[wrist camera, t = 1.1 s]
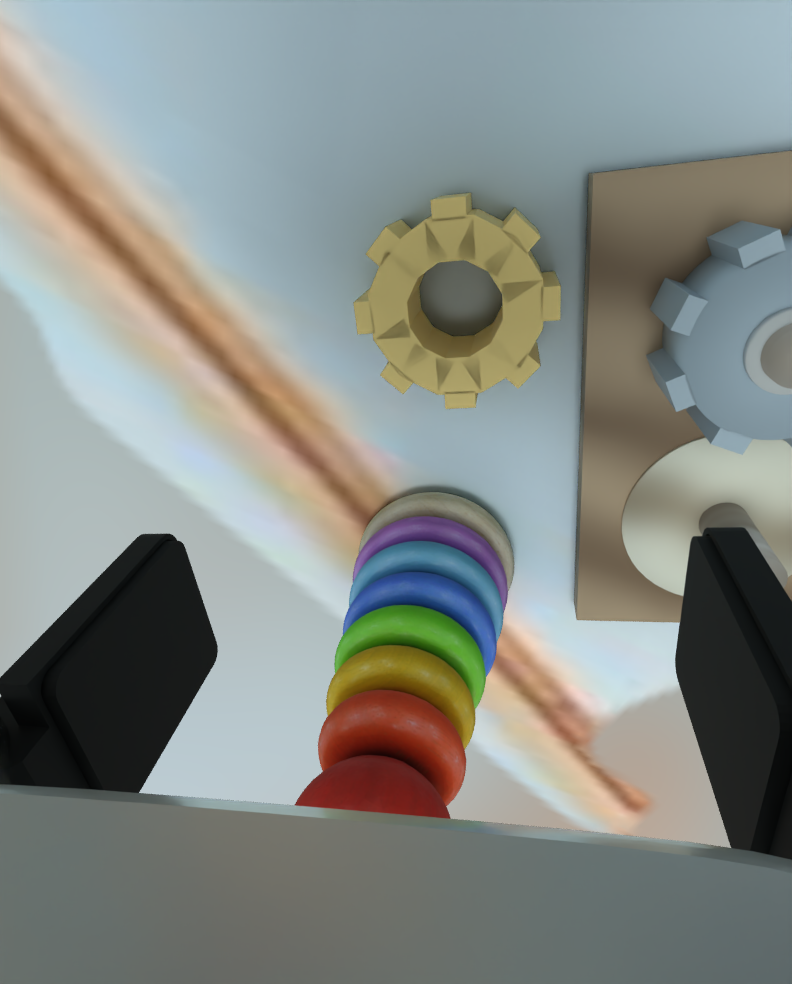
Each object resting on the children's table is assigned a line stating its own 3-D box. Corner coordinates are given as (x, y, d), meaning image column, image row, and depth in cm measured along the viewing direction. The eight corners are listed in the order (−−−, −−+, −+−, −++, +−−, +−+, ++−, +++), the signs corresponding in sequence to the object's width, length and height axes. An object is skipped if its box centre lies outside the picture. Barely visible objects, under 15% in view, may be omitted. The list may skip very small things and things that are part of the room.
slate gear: (617, 280, 23) (636, 299, 20) (844, 171, 20) (911, 171, 17) (680, 448, 26) (706, 490, 22) (888, 371, 23) (953, 407, 20)
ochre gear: (361, 204, 25) (341, 210, 22) (555, 183, 23) (562, 185, 20) (383, 385, 28) (368, 412, 25) (553, 377, 27) (558, 403, 24)
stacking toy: (543, 527, 30) (581, 950, 14) (470, 634, 34) (432, 1062, 18) (399, 459, 30) (264, 813, 13) (341, 575, 34) (183, 958, 17)
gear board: (588, 173, 23) (611, 175, 18) (959, 131, 21) (1113, 118, 15) (574, 601, 32) (586, 686, 27) (830, 605, 30) (898, 699, 24)
